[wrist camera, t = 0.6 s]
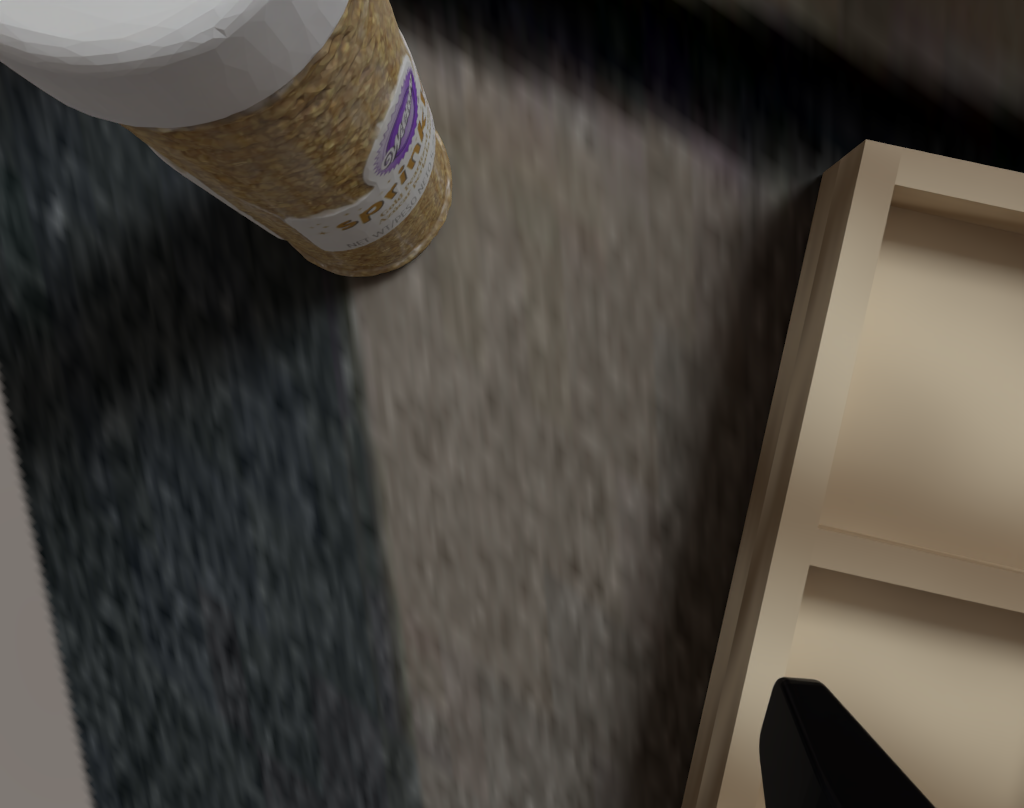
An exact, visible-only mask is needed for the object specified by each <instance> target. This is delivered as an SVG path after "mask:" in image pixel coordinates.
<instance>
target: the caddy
mask: <svg viewBox="0 0 1024 808" xmlns="http://www.w3.org/2000/svg"><path fill="white" fill-rule="evenodd" d="M782 677H792V678H805V679H815V680H818V681H820V682H821V683H823V684H824V685H825V686H826V687H827V688H828V689H829V690H830V691H831V692H832V693H833V694H834V696H835V697H836V698H837V699H838V700H839V701H840V702H841V703H842V704H843V705H844V707H845V708H846V709H847V710H848V711H849V712H850V713H851V714H852V715H853V717H854V718H855V719H856V720H857V721H858V722H859V723H860V724H861V725H862V726H863V728H864V729H865V730H866V731H867V732H868V733H869V734H870V735H871V736H872V738H873V739H874V740H875V741H876V742H877V743H878V744H879V745H880V746H881V748H882V749H883V750H884V751H885V752H886V753H887V754H888V755H889V756H890V757H891V759H892V760H893V761H894V762H895V763H896V764H897V765H898V766H899V767H900V769H901V770H902V771H903V772H904V773H905V774H906V775H907V776H908V777H909V778H910V780H911V781H912V782H913V783H914V784H915V785H916V786H917V787H918V788H919V790H920V791H921V792H922V793H923V794H924V795H925V796H926V797H927V798H928V799H929V801H930V802H931V803H932V804H933V805H934V806H935V807H936V808H1024V173H1020V172H1015V171H1010V170H1006V169H1001V168H996V167H992V166H987V165H982V164H978V163H973V162H968V161H964V160H959V159H954V158H950V157H945V156H940V155H936V154H931V153H926V152H922V151H917V150H912V149H908V148H903V147H898V146H894V145H889V144H884V143H880V142H875V141H870V140H865V141H864V142H862V143H861V144H860V145H858V146H857V147H856V148H855V149H853V150H852V151H851V152H850V153H848V154H847V155H846V156H844V157H843V158H842V159H841V160H839V161H838V162H837V163H836V164H834V165H833V166H832V167H830V168H829V169H828V170H827V171H825V172H824V173H823V175H822V180H821V184H820V189H819V193H818V198H817V202H816V207H815V211H814V216H813V220H812V225H811V229H810V234H809V238H808V243H807V247H806V251H805V256H804V260H803V265H802V269H801V274H800V278H799V283H798V287H797V292H796V296H795V301H794V305H793V310H792V314H791V319H790V323H789V328H788V332H787V336H786V341H785V345H784V350H783V354H782V359H781V363H780V368H779V372H778V377H777V381H776V386H775V390H774V395H773V399H772V404H771V408H770V412H769V417H768V421H767V426H766V430H765V435H764V439H763V444H762V448H761V453H760V457H759V462H758V466H757V471H756V475H755V480H754V484H753V489H752V493H751V497H750V502H749V506H748V511H747V515H746V520H745V524H744V529H743V533H742V538H741V542H740V547H739V551H738V556H737V560H736V565H735V569H734V574H733V578H732V582H731V587H730V591H729V596H728V600H727V605H726V609H725V614H724V618H723V623H722V627H721V632H720V636H719V641H718V645H717V650H716V654H715V659H714V663H713V667H712V672H711V676H710V681H709V685H708V690H707V694H706V699H705V703H704V708H703V712H702V717H701V721H700V726H699V730H698V735H697V739H696V743H695V748H694V752H693V757H692V761H691V766H690V770H689V775H688V779H687V784H686V788H685V793H684V797H683V802H682V806H681V808H766V807H765V799H764V791H763V782H762V774H761V766H760V757H759V738H760V732H761V728H762V724H763V721H764V717H765V714H766V710H767V706H768V703H769V699H770V696H771V692H772V689H773V686H774V684H775V682H776V681H777V679H779V678H782Z"/></svg>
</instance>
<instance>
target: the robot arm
mask: <svg viewBox="0 0 1024 808" xmlns="http://www.w3.org/2000/svg"><path fill="white" fill-rule="evenodd" d="M759 757H760V766H761V774H762V782H763V791H764V799H765V807H766V808H936V807H935V806H934V805H933V804H932V803H931V802H930V801H929V799H928V798H927V797H926V796H925V795H924V794H923V793H922V792H921V791H920V790H919V788H918V787H917V786H916V785H915V784H914V783H913V782H912V781H911V780H910V778H909V777H908V776H907V775H906V774H905V773H904V772H903V771H902V770H901V769H900V767H899V766H898V765H897V764H896V763H895V762H894V761H893V760H892V759H891V757H890V756H889V755H888V754H887V753H886V752H885V751H884V750H883V749H882V748H881V746H880V745H879V744H878V743H877V742H876V741H875V740H874V739H873V738H872V736H871V735H870V734H869V733H868V732H867V731H866V730H865V729H864V728H863V726H862V725H861V724H860V723H859V722H858V721H857V720H856V719H855V718H854V717H853V715H852V714H851V713H850V712H849V711H848V710H847V709H846V708H845V707H844V705H843V704H842V703H841V702H840V701H839V700H838V699H837V698H836V697H835V696H834V694H833V693H832V692H831V691H830V690H829V689H828V688H827V687H826V686H825V685H824V684H823V683H821V682H820V681H818V680H815V679H805V678H792V677H782V678H779V679H777V681H776V682H775V684H774V686H773V689H772V692H771V696H770V699H769V703H768V706H767V710H766V714H765V717H764V721H763V724H762V728H761V732H760V738H759Z"/></svg>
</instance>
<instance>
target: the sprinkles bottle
mask: <svg viewBox="0 0 1024 808" xmlns="http://www.w3.org/2000/svg"><path fill="white" fill-rule="evenodd" d="M0 61H1V62H2V63H3V64H5V65H6V66H8V67H9V68H11V69H12V70H13V71H15V72H16V73H18V74H19V75H21V76H22V77H23V78H25V79H26V80H28V81H29V82H31V83H32V84H34V85H35V86H37V87H38V88H40V89H41V90H43V91H44V92H46V93H47V94H49V95H51V96H52V97H54V98H56V99H57V100H59V101H60V102H62V103H64V104H65V105H67V106H69V107H72V108H74V109H76V110H78V111H81V112H83V113H85V114H88V115H90V116H93V117H97V118H101V119H104V120H108V121H112V122H116V123H119V124H120V125H122V126H123V127H125V128H126V129H128V130H129V131H131V132H132V133H133V134H135V135H136V136H137V137H138V138H140V139H141V140H142V141H144V142H145V143H147V144H148V146H149V147H150V148H151V149H152V150H153V151H154V152H155V153H156V154H157V155H158V156H159V157H160V158H161V159H162V160H163V161H164V162H166V163H167V164H168V165H170V166H171V167H172V168H173V169H175V170H176V171H178V172H179V173H180V174H182V175H183V176H185V177H186V178H188V179H189V180H191V181H192V182H194V183H195V184H197V185H198V186H200V187H201V188H203V189H204V190H206V191H207V192H209V193H210V194H212V195H213V196H215V197H216V198H218V199H219V200H221V201H222V202H223V203H225V204H226V205H228V206H229V207H231V208H232V209H234V210H236V211H237V212H239V213H240V214H242V215H243V216H245V217H246V218H248V219H249V220H251V221H252V222H254V223H255V224H257V225H259V226H260V227H262V228H263V229H265V230H266V231H268V232H269V233H271V234H272V235H274V236H275V237H277V238H279V239H282V240H287V241H288V242H289V243H290V244H291V245H292V246H293V247H294V248H295V249H296V250H297V251H298V252H299V253H300V254H302V256H303V257H304V258H305V259H307V260H308V261H310V262H311V263H313V264H315V265H317V266H319V267H321V268H323V269H325V270H327V271H330V272H332V273H335V274H338V275H343V276H352V277H366V276H374V275H378V274H380V273H387V272H389V271H392V270H395V269H398V268H400V267H402V266H403V265H405V264H407V263H409V262H410V261H412V260H413V259H415V258H416V257H417V256H418V255H419V254H420V253H422V252H423V251H424V250H425V248H426V247H427V246H428V245H429V244H430V242H431V240H432V239H433V238H434V237H435V236H436V235H437V234H438V231H439V230H440V228H441V227H442V225H443V224H444V222H445V220H446V217H447V213H448V210H449V208H450V206H451V199H452V174H451V167H450V163H449V158H448V156H447V153H446V149H445V147H444V144H443V142H442V140H441V138H440V136H439V134H438V133H437V131H436V130H435V128H434V122H433V117H432V113H431V110H430V107H429V104H428V101H427V98H426V95H425V92H424V90H423V87H422V84H421V81H420V78H419V75H418V72H417V70H416V67H415V64H414V61H413V58H412V56H411V53H410V50H409V48H408V46H407V44H406V41H405V39H404V37H403V35H402V33H401V32H400V30H399V28H398V26H397V23H396V20H395V17H394V14H393V11H392V8H391V5H390V3H389V0H0Z"/></svg>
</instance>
